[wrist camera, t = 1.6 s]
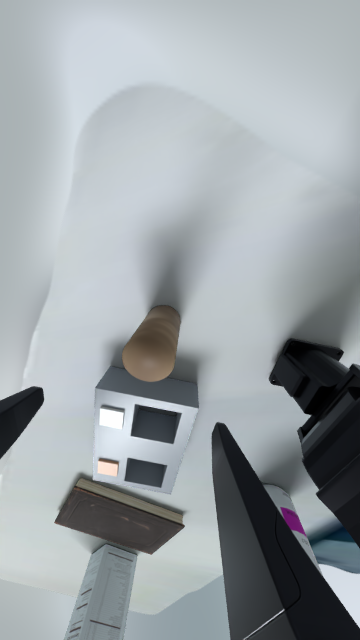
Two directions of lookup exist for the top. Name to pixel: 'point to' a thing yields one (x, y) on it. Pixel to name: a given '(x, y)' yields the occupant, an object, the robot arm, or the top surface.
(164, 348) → the walnut peg
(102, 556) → the supplement box
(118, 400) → the socket block
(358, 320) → the top surface
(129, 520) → the hardcover book
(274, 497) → the supplement can
